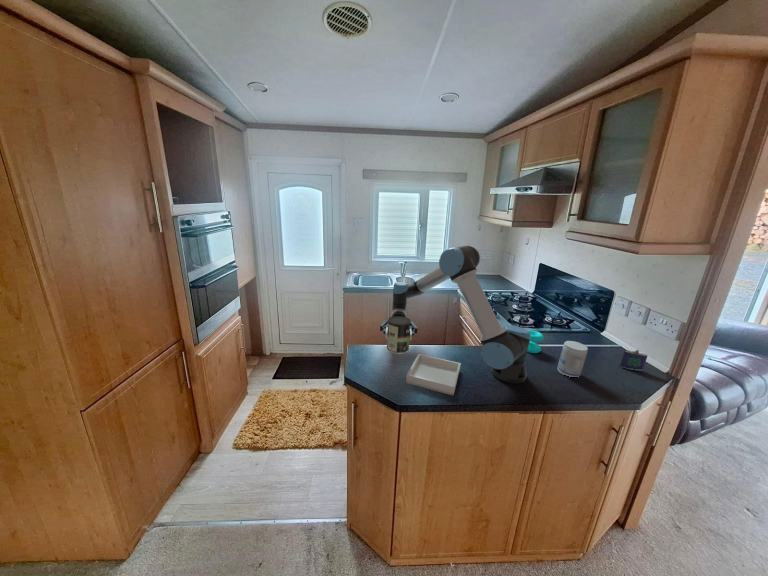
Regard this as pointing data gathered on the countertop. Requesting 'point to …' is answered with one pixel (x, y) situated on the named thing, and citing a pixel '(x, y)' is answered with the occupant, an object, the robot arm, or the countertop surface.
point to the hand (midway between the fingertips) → (398, 336)
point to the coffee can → (398, 334)
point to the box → (434, 374)
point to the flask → (633, 360)
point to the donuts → (535, 337)
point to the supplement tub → (572, 359)
